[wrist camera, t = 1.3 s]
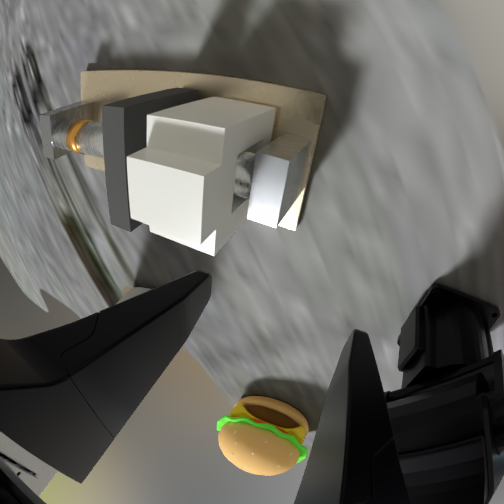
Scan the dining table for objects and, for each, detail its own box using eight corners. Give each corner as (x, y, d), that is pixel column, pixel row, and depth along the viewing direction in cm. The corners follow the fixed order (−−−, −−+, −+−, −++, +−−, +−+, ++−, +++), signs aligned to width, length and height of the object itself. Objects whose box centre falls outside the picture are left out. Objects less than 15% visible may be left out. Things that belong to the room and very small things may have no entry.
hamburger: (230, 415, 42) (204, 461, 36) (232, 375, 35) (198, 434, 29) (306, 442, 39) (286, 492, 32) (329, 409, 32) (305, 475, 25)
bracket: (276, 108, 16) (207, 136, 11) (260, 204, 20) (199, 272, 14) (214, 96, 17) (125, 121, 12) (206, 188, 21) (133, 244, 15)
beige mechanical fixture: (326, 95, 16) (304, 104, 12) (297, 226, 21) (270, 271, 17) (86, 70, 21) (36, 82, 17) (89, 163, 26) (47, 186, 22)
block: (197, 89, 17) (123, 107, 12) (191, 187, 22) (130, 232, 17) (176, 87, 18) (101, 105, 13) (173, 182, 22) (111, 223, 17)
